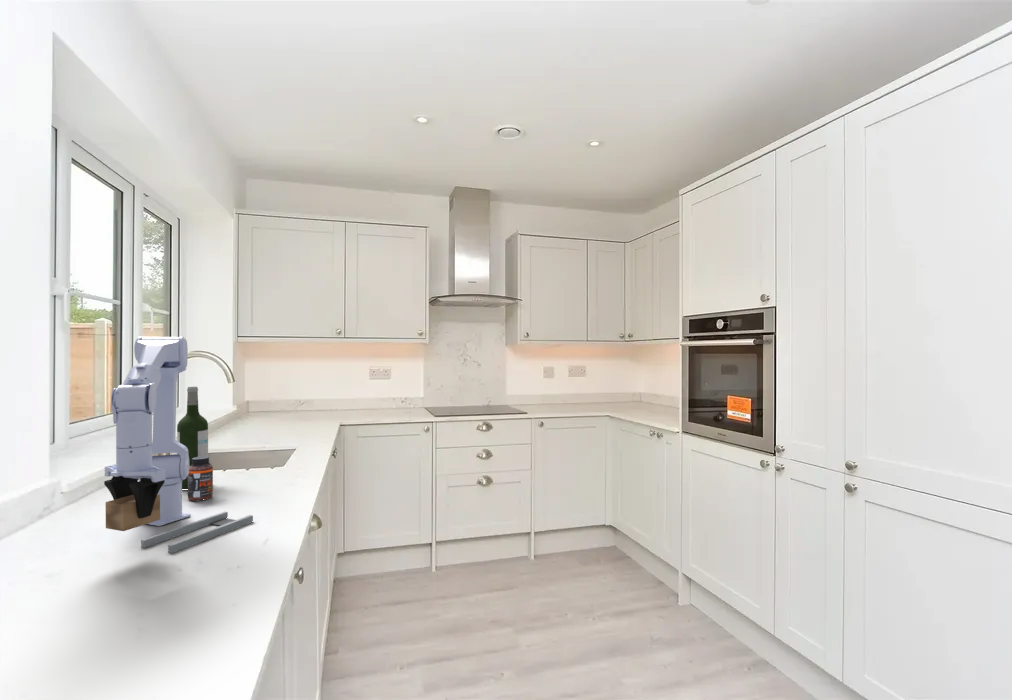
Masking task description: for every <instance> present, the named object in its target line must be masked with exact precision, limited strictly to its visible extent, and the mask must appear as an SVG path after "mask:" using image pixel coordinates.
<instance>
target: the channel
mask: <svg viewBox="0 0 1012 700" xmlns="http://www.w3.org/2000/svg"><path fill="white" fill-rule="evenodd" d="M228 513H229V511H221V512H219V513H215V514H214V515H210V516H208V517H204V518H201V519H198V520H196V521H193V522H190V523H187V524H184V525H181V526H178V527H175V528H173V529H170V530H166V531H164V532H161V533H158V534H155V535H152V536H149V537H146V538H143V539H141V540H140V548H142V549H145V548H148V547H152V546H154V545H157V544H159V543H162V542H165V541H167V540H171V539H173V538H177V537H179V536H181V535H185V534H187V533H191V532H193V531H195V530H199V529H201V527H202V528H204V527H208V526H209V524H210V526H214V525H216V526H215V527H214V528H211V529H208V530H206V531H203V532H200V533H197V534H194V535H191V536H190V537H189V536H188V537H186V538H183V539H181V540H178V541H175V542H173V543H170V544H168V547H167V548H168V551H167V553H169V554H174V553H176V552H178V551H181V550H184V549H186V548H189V547H191V546H193V545H198V544H199V543H201V542H202V543H203V542H204V540H205V541H208V540H209V539H212V538H215V537H217V535H218V536H220V535H222V533H223V534H226V533H227V531H228V532H230V531H233V530H236V529H238V528H241V527H242V525H243V526H245V525H244V524H246V525H248V524H247V523H249V524H251V523H253V522H254V515H252V514H249V515H248V514H247V515H246V516H244V517H243V516H242V517H240V518H238V519H234V518H233V519H231V518H227V517H229V516H228V515H229V514H228ZM226 518H227V519H226ZM252 521H253V522H252ZM250 522H251V523H250ZM240 526H241V527H240ZM237 527H238V528H237ZM235 528H236V529H235ZM232 529H233V530H232ZM219 534H220V535H219Z"/></svg>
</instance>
